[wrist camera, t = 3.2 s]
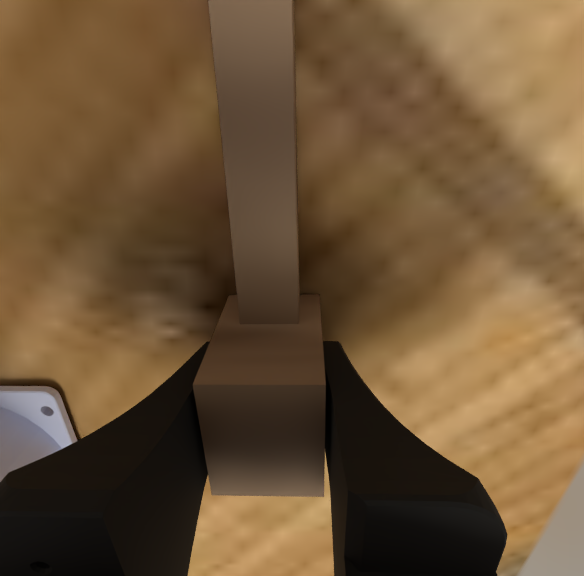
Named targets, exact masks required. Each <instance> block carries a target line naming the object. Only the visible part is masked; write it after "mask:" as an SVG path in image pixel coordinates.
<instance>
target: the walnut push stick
mask: <svg viewBox="0 0 584 576" xmlns="http://www.w3.org/2000/svg"><path fill="white" fill-rule="evenodd" d="M208 5H209V15H210V25H211V36H212V46H213V56H214V66H215V76H216V87H217V97H218V107H219V117H220V127H221V138H222V148H223V158H224V168H225V178H226V189H227V199H228V209H229V219H230V229H231V240H232V250H233V260H234V270H235V280H236V291H237V295H229V297H228V299H227V301H226V304H225V306H224V309H223V311H222V314H221V316H220V319H219V321H218V323H217V326H216V328H215V331H214V333H213V336H212V338H211V341H210V343H209V346H208V348H207V350H206V353H205V355H204V358H203V360H202V363H201V365H200V368H199V370H198V373H197V375H196V377H195V380H194V382H193V390H194V396H195V401H196V407H197V413H198V419H199V424H200V430H201V436H202V441H203V447H204V453H205V459H206V464H207V470H208V476H209V482H210V487H211V493H212V495H233V496H301V497H324V462H325V404H326V380H325V366H324V352H323V338H322V324H321V309H320V295H319V294H309V295H300V293H299V238H298V184H297V129H296V74H295V19H294V0H208Z"/></svg>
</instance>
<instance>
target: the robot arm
mask: <svg viewBox="0 0 584 576" xmlns="http://www.w3.org/2000/svg"><path fill="white" fill-rule="evenodd" d="M209 343H210V342H206V343H205V344H204V345H203V346H202V347H201V348H200V349H199V350H198V351H197V352H196V353H195V354H194V355H193V356H192V357H191V358H190V359H189V360H188V361H187V362H186V363H185V364H184V365H183V366H182V367H181V368H180V369H178V370H177V371H176V372H175V373H174V374H173V375H172V376H171V377H170V378H169V379H168V380H166V381H165V382H164V383H163V384H162V385H161V386H159V387H158V388H157V389H156V390H155V391H154V392H152V393H151V394H150V395H149V396H147V397H146V398H145V399H143V400H142V401H141V402H139V403H138V404H137V405H135V406H134V407H132V408H131V409H130V410H128V411H127V412H125V413H124V414H122V415H121V416H119V417H118V418H116V419H114V420H113V421H111V422H109V423H108V424H106V425H105V426H103V427H101V428H100V429H98V430H96V431H95V432H93V433H91V434H89V435H88V436H86V437H84V438H82V439H80V440H78V441H77V438H76V436H75V433H74V430H73V428H72V425H71V422H70V420H69V417H68V414H67V412H66V409H65V406H64V404H63V401H62V398H61V396H60V394H59V392H58V391H57V390H55V389H54V388H52V387H48V386H0V576H187V575H188V569H189V563H190V557H191V552H192V546H193V541H194V536H195V531H196V525H197V520H198V515H199V510H200V505H201V500H202V496H203V491H204V487H205V483H206V479H207V475H208V470H207V464H206V459H205V453H204V447H203V441H202V436H201V430H200V424H199V419H198V413H197V407H196V401H195V396H194V390H193V382H194V380H195V377H196V375H197V373H198V370H199V368H200V365H201V363H202V360H203V358H204V355H205V353H206V350H207V348H208V346H209ZM323 352H324V366H325V380H326V404H325V453H326V460H327V467H328V474H329V482H330V493H331V513H332V534H333V555H334V576H497V574H496V570H497V567H498V565H499V562H500V559H501V556H502V554H503V551H504V548H505V545H506V539H507V532H506V529H505V526H504V523H503V521H502V519H501V517H500V515H499V513H498V511H497V509H496V507H495V505H494V503H493V502H492V500H491V498H490V497H489V495H488V493H487V492H486V490H485V489H484V487H483V485H482V484H481V482H480V481H479V479H478V478H477V477H475V476H473V475H472V474H470V473H469V472H467V471H465V470H464V469H462V468H460V467H459V466H457V465H456V464H454V463H452V462H451V461H449V460H447V459H446V458H444V457H443V456H442V455H440V454H439V453H437V452H436V451H435V450H433V449H432V448H430V447H429V446H428V445H426V444H425V443H424V442H422V441H421V440H420V439H419V438H418V437H416V436H415V435H414V434H413V433H412V432H410V431H409V430H408V429H407V428H406V427H404V426H403V425H402V424H401V423H400V422H399V421H398V420H397V419H396V418H395V417H394V416H393V415H392V414H391V413H390V412H389V411H388V410H387V409H386V408H385V407H384V406H383V405H382V404H381V402H380V401H379V400H378V399H377V398H376V397H375V395H374V394H373V393H372V392H371V390H370V389H369V388H368V387H367V385H366V384H365V383H364V381H363V380H362V379H361V377H360V376H359V374H358V373H357V371H356V370H355V368H354V367H353V365H352V364H351V362H350V360H349V359H348V357H347V355H346V353H345V352H344V350H343V348H342V345H341V344H340V343H339V342H338V341H323Z"/></svg>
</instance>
